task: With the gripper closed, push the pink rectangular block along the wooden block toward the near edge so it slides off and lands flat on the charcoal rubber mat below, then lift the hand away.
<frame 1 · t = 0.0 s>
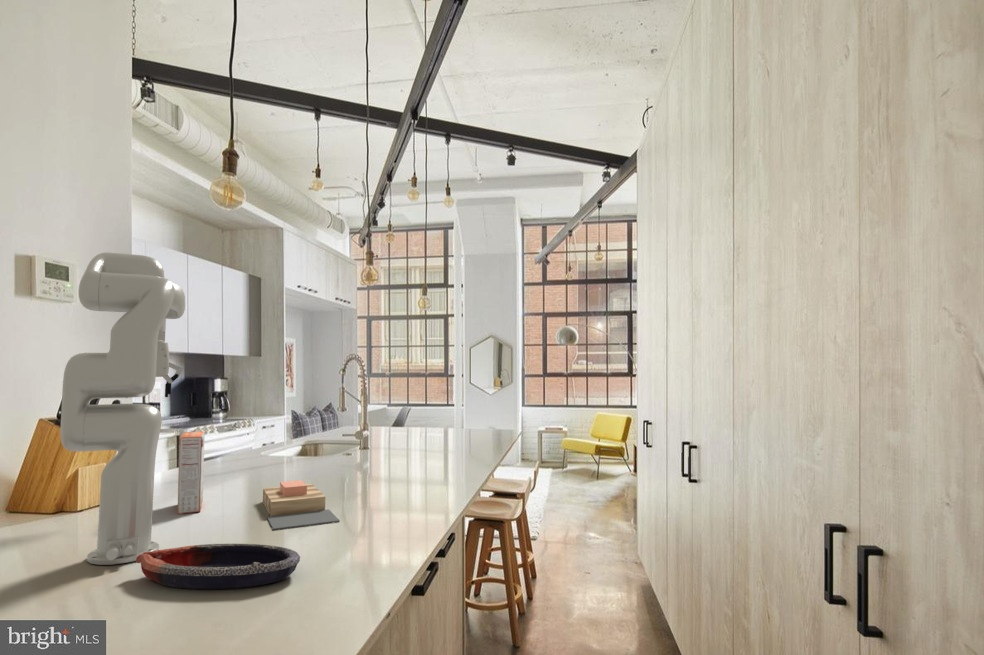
hand: (147, 397, 158), 31 cm above the countertop, tool pointing down, fingers open, 9 cm apart
pink rectangular block: (293, 492, 159), point 4 cm above the countertop, touching wooden block
cracker box: (189, 508, 157), on the countertop
wooden block: (292, 506, 159), on the countertop
dish: (218, 579, 104), on the countertop
mat: (302, 519, 144), on the countertop
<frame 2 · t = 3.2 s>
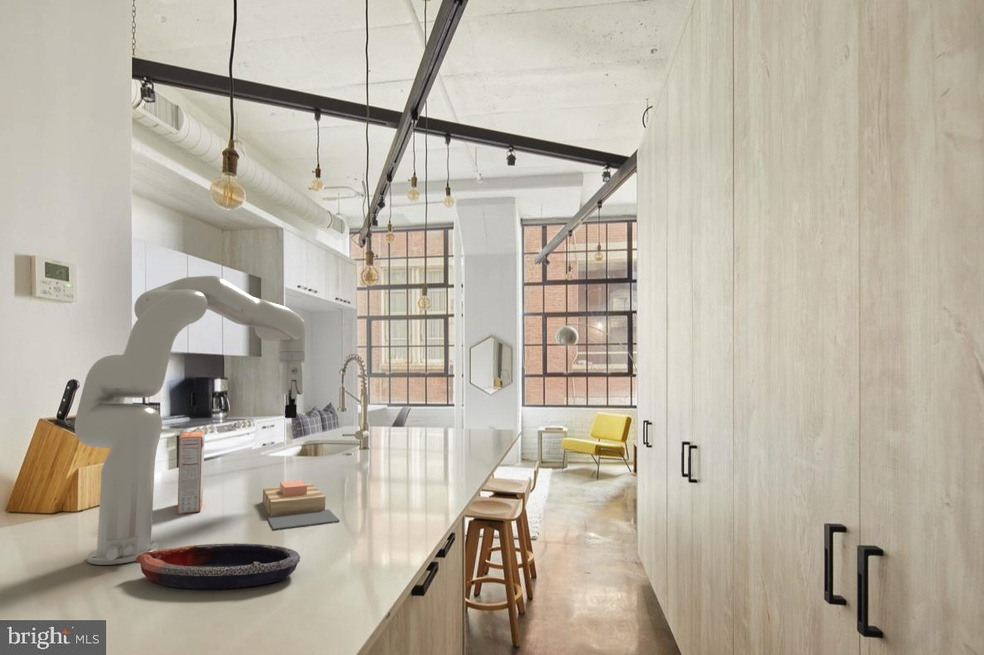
hand: (290, 417, 170), 24 cm above the countertop, tool pointing down, fingers closed
nothing on the countertop moved.
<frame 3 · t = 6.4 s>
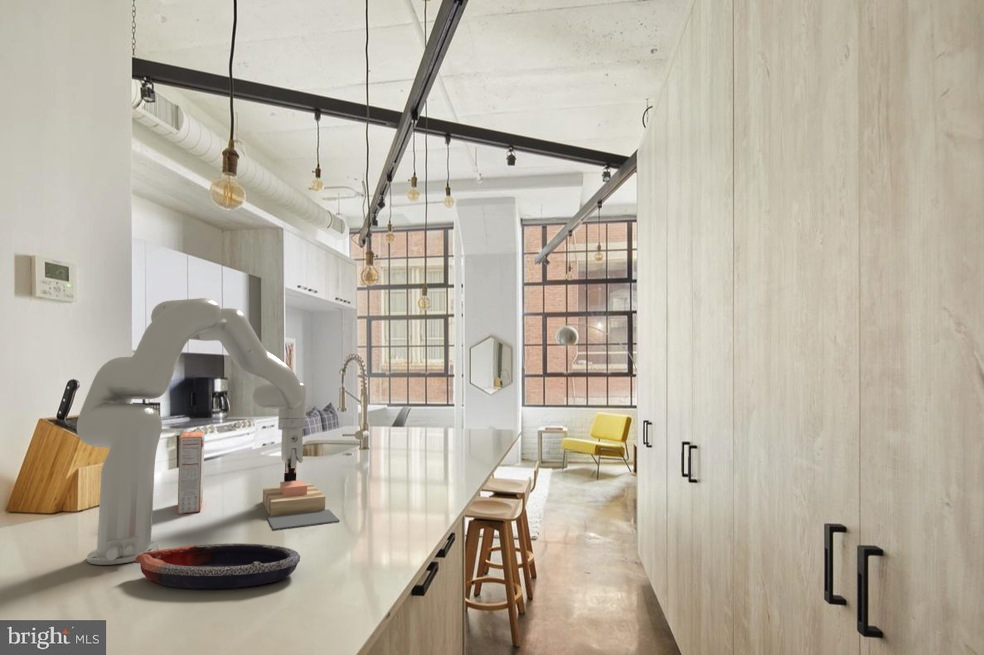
hand: (289, 486, 164), 5 cm above the countertop, tool pointing down, fingers closed
pink rectangular block: (293, 492, 159), point 4 cm above the countertop, touching gripper
everything else where it was.
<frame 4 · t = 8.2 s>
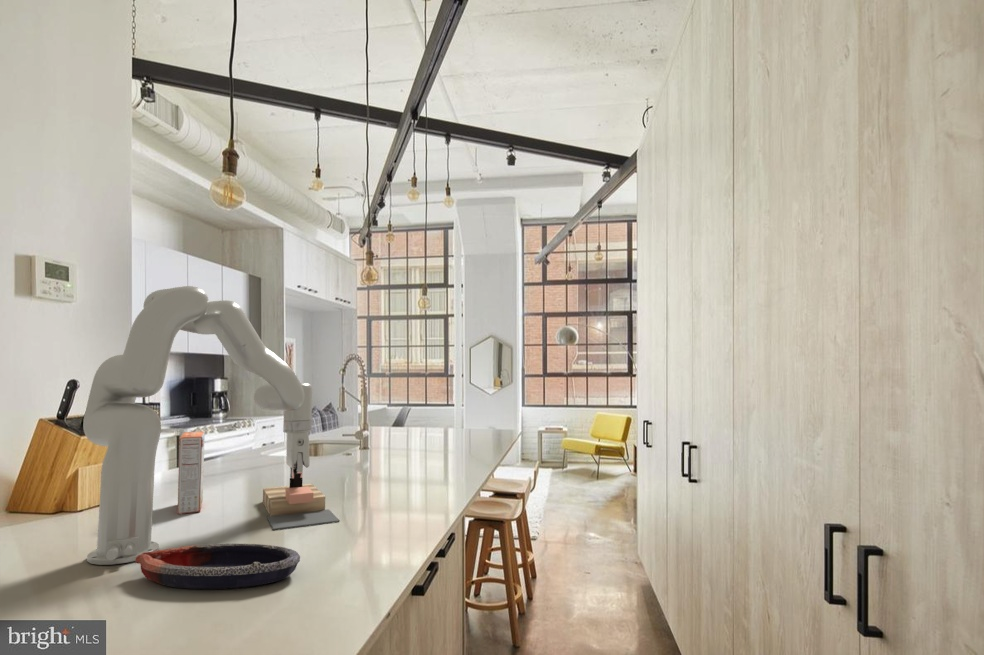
hand: (295, 492, 156), 5 cm above the countertop, tool pointing down, fingers closed
pink rectangular block: (299, 499, 150), point 4 cm above the countertop, touching wooden block, gripper
everything else where it was.
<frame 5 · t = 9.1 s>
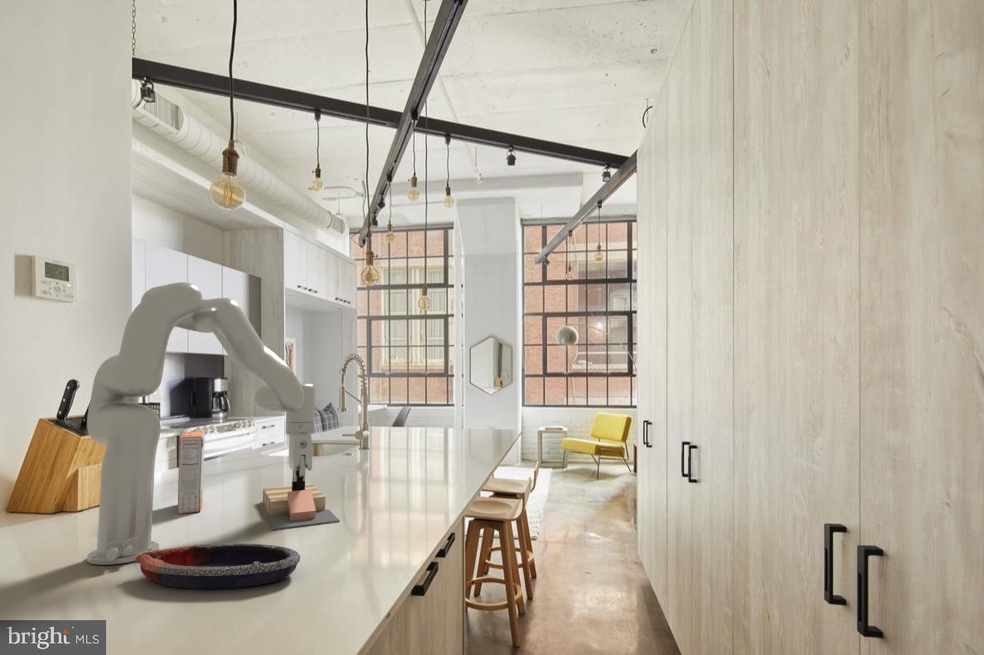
hand: (298, 495, 152), 5 cm above the countertop, tool pointing down, fingers closed
pink rectangular block: (300, 508, 147), point 2 cm above the countertop, tilted 25°, touching wooden block, mat
everything else where it was.
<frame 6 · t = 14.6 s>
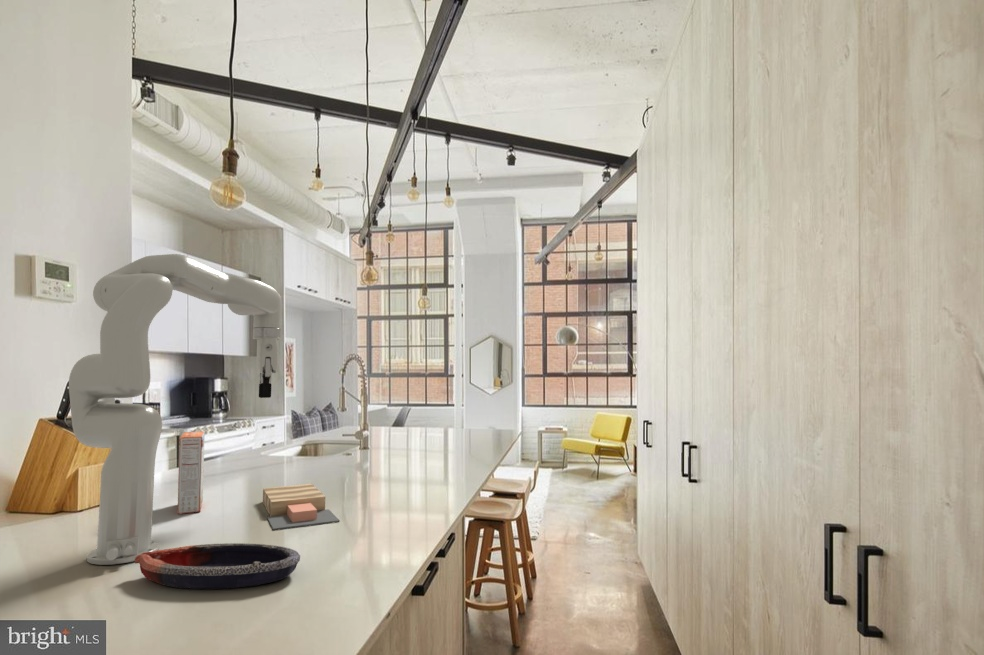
hand: (264, 397, 161), 31 cm above the countertop, tool pointing down, fingers closed
pink rectangular block: (301, 516, 146), resting on mat
everything else where it was.
at the end: pink rectangular block resting on mat; pink rectangular block inside the target area on the mat (1.9 cm from its centre), point 0.4 cm above the mat's base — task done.
